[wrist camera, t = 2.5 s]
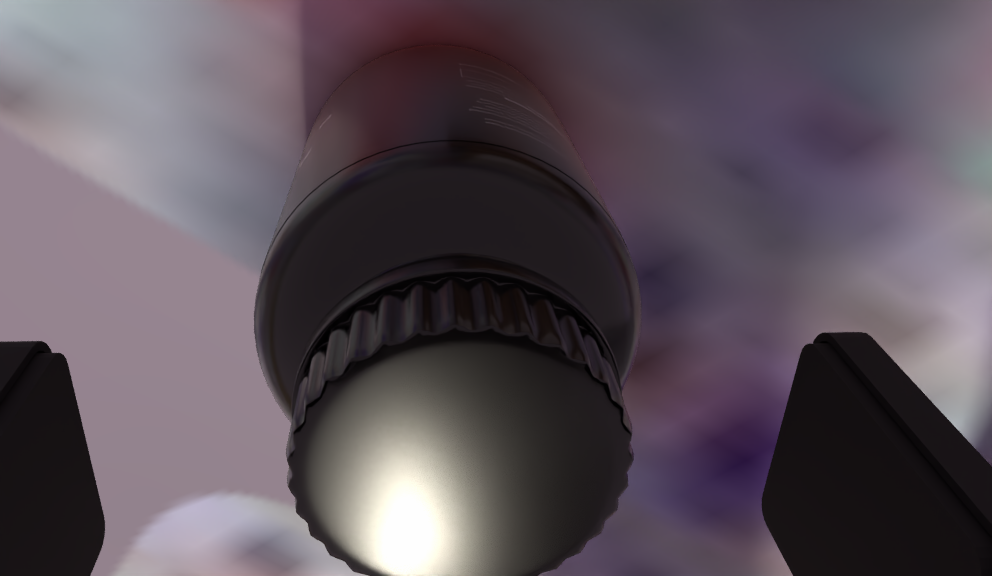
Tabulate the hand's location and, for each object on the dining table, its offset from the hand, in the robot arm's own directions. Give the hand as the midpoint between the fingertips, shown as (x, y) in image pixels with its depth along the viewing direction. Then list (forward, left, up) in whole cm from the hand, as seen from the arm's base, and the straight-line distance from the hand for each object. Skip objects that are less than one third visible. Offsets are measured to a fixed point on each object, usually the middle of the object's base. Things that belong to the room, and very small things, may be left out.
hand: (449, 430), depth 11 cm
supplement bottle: (-1, 0, -12) cm, 12 cm away
